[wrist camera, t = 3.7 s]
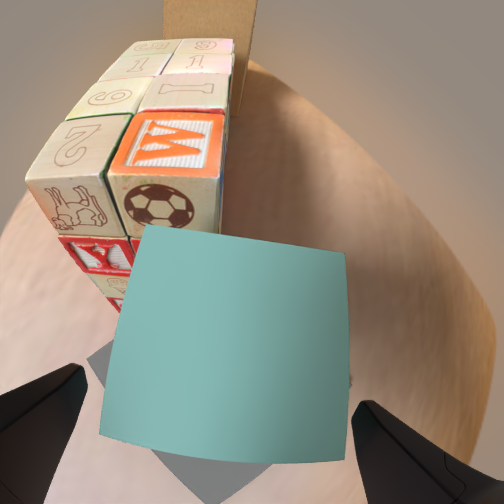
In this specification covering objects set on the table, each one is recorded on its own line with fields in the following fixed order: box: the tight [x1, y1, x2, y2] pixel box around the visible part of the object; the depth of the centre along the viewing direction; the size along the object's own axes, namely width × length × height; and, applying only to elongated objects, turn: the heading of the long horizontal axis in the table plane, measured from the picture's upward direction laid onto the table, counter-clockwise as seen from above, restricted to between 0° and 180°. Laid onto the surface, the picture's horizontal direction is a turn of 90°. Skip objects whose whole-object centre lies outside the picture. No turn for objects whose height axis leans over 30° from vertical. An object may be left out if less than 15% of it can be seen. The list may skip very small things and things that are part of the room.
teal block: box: [99, 224, 349, 464], centre depth 10 cm, size 5×5×12 cm
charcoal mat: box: [87, 339, 352, 504], centre depth 16 cm, size 12×12×1 cm
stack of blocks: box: [25, 38, 235, 313], centre depth 17 cm, size 21×6×12 cm, turn 0°
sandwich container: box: [163, 0, 258, 116], centre depth 26 cm, size 9×15×15 cm, turn 0°
